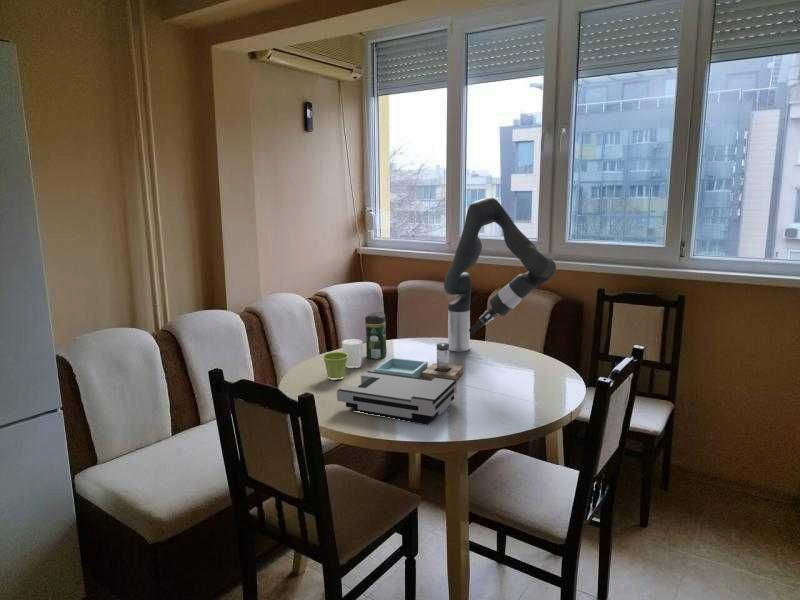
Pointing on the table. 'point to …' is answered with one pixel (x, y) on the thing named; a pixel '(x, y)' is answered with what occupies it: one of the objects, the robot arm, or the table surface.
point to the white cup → (353, 351)
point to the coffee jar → (375, 335)
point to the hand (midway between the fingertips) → (473, 329)
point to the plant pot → (335, 364)
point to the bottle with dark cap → (443, 357)
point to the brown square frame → (432, 372)
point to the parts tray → (403, 367)
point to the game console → (400, 396)
